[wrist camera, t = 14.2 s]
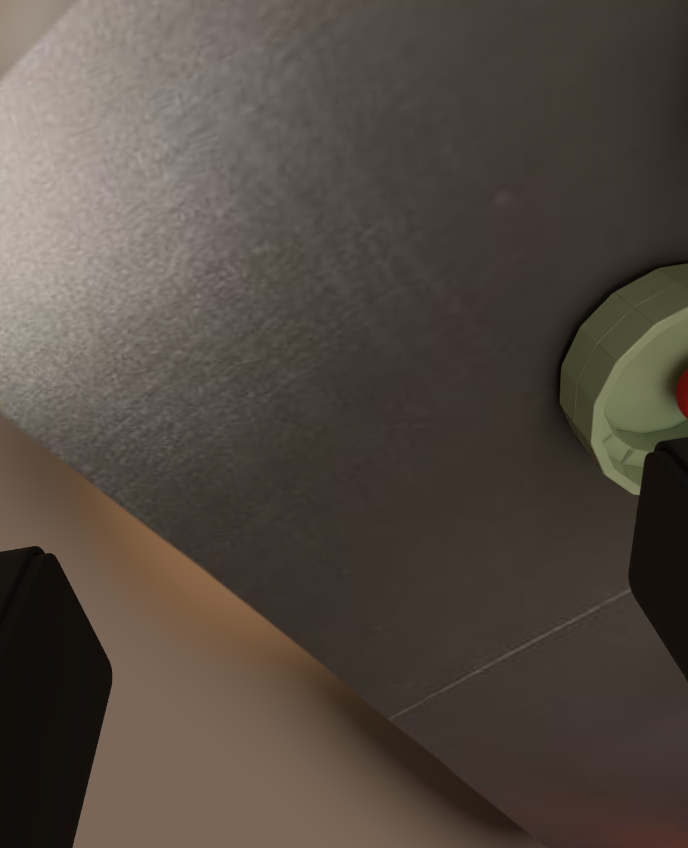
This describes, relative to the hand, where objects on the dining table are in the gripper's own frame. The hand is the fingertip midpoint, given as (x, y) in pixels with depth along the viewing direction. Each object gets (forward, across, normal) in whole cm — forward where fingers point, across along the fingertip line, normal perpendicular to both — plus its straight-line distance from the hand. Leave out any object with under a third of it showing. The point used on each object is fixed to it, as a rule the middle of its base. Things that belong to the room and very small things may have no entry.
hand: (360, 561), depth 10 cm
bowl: (+24, -19, +12) cm, 33 cm away
